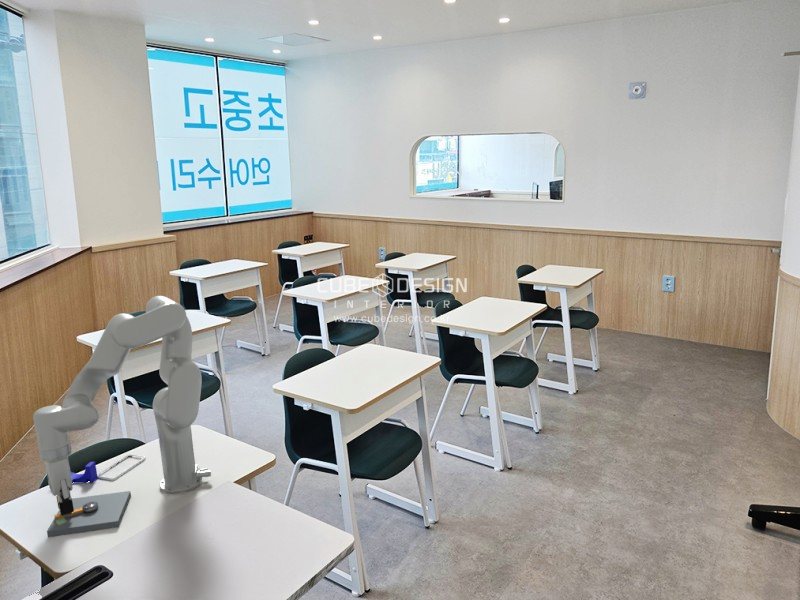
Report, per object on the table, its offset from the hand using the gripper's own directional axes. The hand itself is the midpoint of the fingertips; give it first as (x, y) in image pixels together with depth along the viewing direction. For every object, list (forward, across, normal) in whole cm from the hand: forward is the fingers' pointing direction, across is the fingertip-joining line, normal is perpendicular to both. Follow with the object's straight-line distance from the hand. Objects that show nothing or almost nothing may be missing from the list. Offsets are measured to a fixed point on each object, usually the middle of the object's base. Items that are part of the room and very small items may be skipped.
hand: (66, 509), depth 168 cm
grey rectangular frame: (+5, -24, +20) cm, 31 cm away
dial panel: (+4, +1, +6) cm, 7 cm away
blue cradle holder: (+5, -24, +6) cm, 25 cm away
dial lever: (+2, 0, +2) cm, 3 cm away
